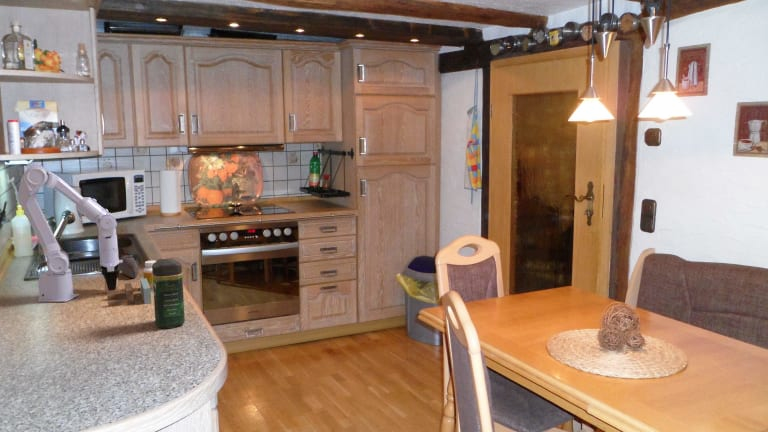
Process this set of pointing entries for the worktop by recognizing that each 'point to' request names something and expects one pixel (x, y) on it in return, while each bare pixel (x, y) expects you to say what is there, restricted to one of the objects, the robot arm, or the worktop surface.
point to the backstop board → (145, 291)
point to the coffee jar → (168, 293)
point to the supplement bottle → (149, 273)
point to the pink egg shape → (111, 290)
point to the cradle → (127, 295)
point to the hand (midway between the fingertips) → (111, 287)
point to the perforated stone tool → (128, 266)
